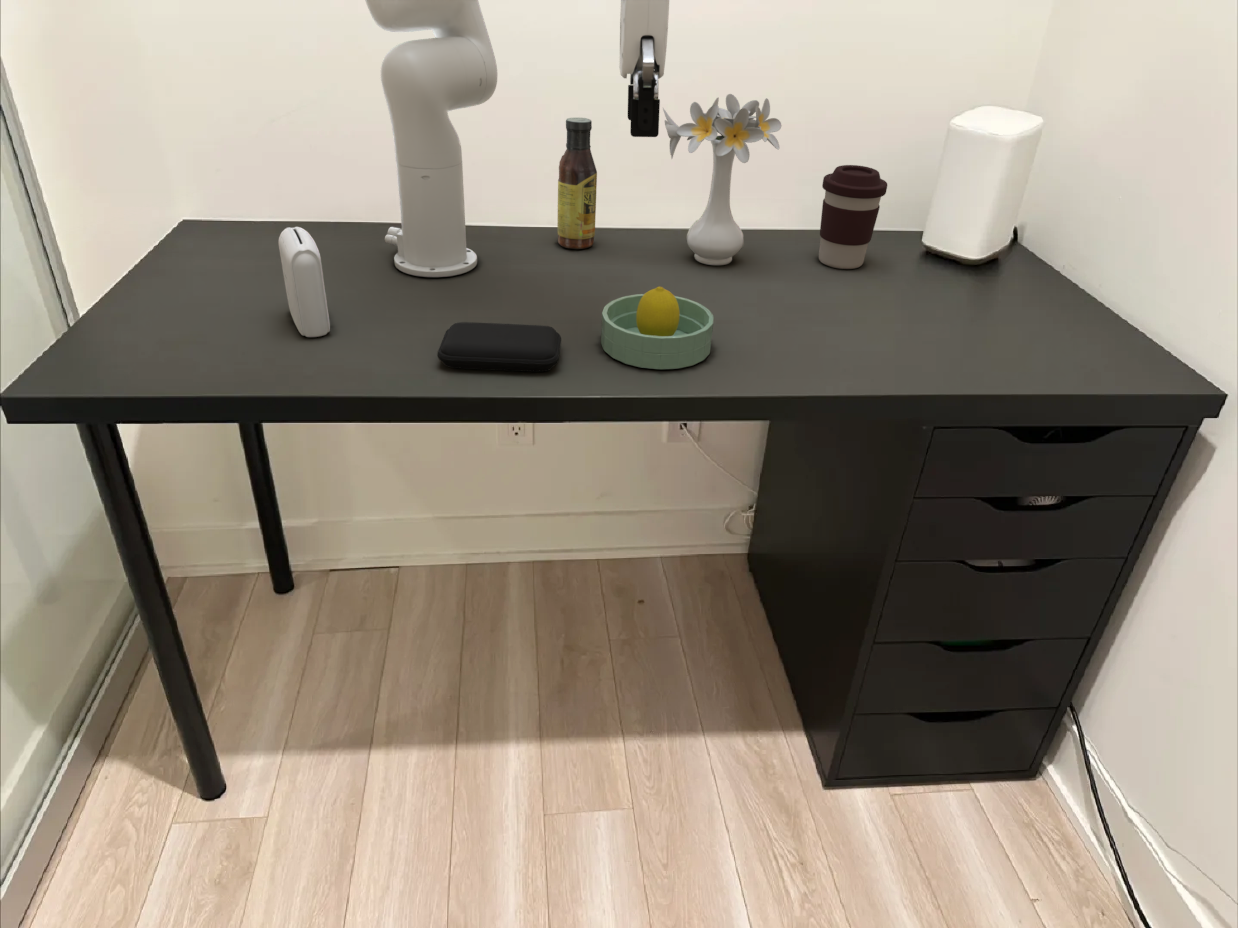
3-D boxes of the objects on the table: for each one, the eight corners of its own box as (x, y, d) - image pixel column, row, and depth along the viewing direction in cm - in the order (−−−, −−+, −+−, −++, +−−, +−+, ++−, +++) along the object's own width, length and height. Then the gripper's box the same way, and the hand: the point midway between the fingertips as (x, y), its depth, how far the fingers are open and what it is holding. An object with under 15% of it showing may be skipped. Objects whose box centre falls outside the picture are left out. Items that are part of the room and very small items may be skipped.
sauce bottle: (589, 252, 145) (593, 125, 135) (552, 248, 146) (553, 122, 136) (598, 240, 151) (602, 117, 140) (562, 236, 152) (564, 113, 141)
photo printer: (287, 310, 120) (272, 220, 114) (319, 306, 122) (306, 217, 115) (299, 340, 113) (284, 246, 106) (334, 336, 114) (321, 242, 108)
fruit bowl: (582, 354, 113) (583, 322, 111) (629, 316, 124) (630, 286, 122) (685, 380, 108) (689, 347, 106) (725, 338, 119) (728, 307, 117)
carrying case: (562, 340, 117) (449, 335, 116) (562, 318, 115) (448, 313, 115) (557, 377, 108) (435, 372, 107) (557, 354, 106) (433, 348, 106)
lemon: (647, 357, 113) (651, 297, 109) (627, 339, 117) (630, 282, 113) (684, 349, 115) (690, 291, 111) (663, 333, 119) (668, 276, 115)
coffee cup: (879, 260, 149) (898, 169, 140) (858, 277, 141) (877, 182, 133) (823, 248, 153) (838, 158, 145) (800, 263, 146) (815, 170, 138)
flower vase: (645, 248, 149) (655, 88, 135) (750, 245, 152) (770, 89, 139) (664, 276, 138) (677, 106, 124) (776, 272, 141) (800, 106, 128)
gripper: (611, -41, 105) (609, 113, 113) (614, -34, 90) (612, 142, 99) (675, -39, 105) (668, 114, 114) (688, -32, 90) (679, 143, 99)
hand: (642, 127), depth 106 cm, fingers open, 9 cm apart
